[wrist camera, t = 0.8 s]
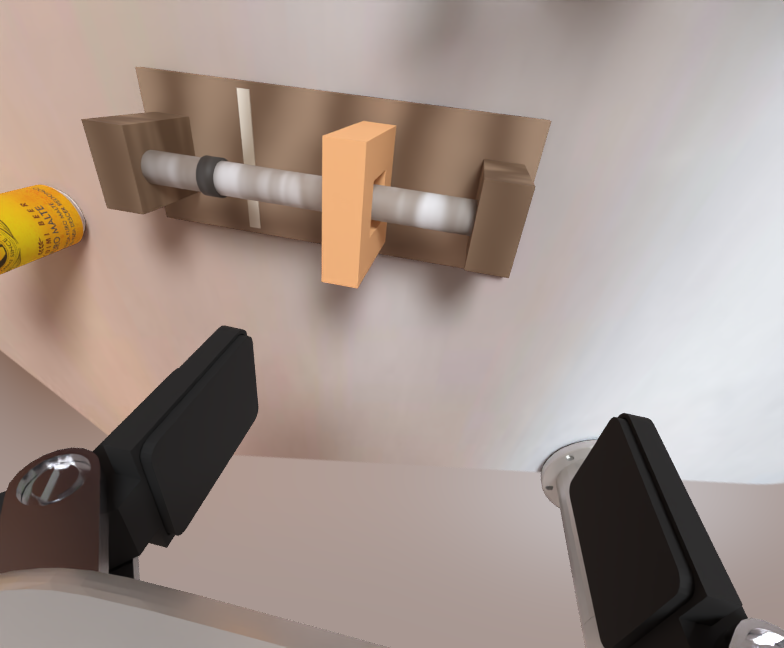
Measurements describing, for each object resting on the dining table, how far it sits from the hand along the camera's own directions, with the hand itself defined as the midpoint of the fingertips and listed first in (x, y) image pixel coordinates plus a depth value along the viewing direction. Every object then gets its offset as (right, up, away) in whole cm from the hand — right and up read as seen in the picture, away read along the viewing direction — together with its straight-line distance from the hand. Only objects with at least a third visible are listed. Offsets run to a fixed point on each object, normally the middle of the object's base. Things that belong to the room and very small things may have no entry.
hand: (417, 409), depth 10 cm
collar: (-2, +13, +21) cm, 25 cm away
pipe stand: (-6, +15, +23) cm, 28 cm away
